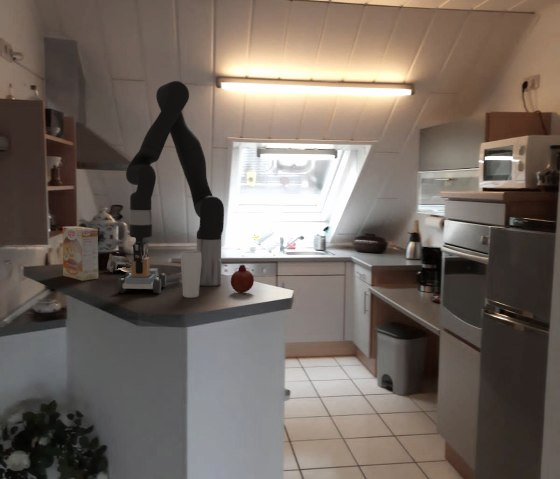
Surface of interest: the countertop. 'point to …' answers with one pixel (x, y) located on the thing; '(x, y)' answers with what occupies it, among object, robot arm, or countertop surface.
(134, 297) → the countertop surface
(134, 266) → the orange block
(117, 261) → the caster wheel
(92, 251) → the coffeecake box
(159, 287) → the chassis
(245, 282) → the fruit
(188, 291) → the drinking glass
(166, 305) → the countertop surface
